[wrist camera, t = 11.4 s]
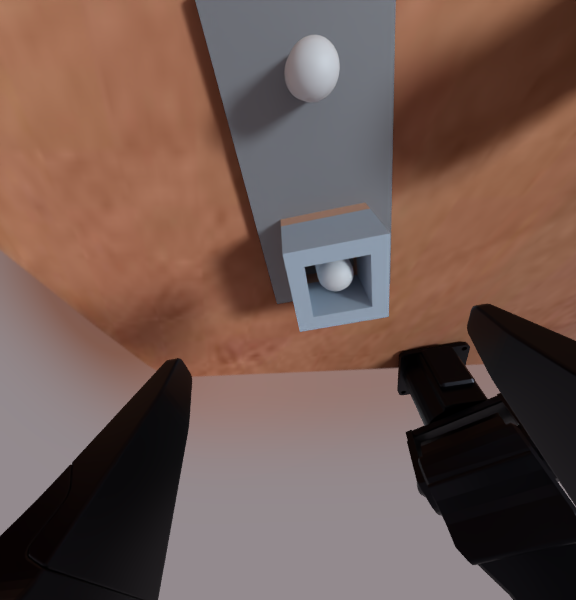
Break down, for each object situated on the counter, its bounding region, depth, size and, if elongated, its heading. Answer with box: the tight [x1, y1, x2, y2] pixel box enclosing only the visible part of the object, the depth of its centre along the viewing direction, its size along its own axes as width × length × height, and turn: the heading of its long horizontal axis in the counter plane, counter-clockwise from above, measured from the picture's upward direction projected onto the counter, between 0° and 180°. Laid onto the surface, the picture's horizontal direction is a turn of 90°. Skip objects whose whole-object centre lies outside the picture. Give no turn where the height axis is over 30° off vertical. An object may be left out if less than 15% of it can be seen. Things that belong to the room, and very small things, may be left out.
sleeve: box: [281, 203, 390, 332], centre depth 19 cm, size 6×6×5 cm
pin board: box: [195, 0, 396, 304], centre depth 16 cm, size 18×9×5 cm, turn 11°
